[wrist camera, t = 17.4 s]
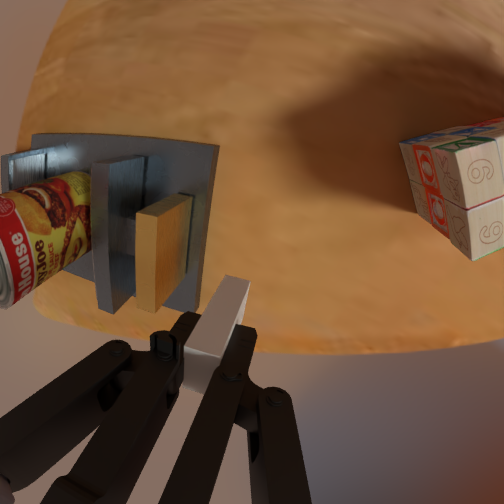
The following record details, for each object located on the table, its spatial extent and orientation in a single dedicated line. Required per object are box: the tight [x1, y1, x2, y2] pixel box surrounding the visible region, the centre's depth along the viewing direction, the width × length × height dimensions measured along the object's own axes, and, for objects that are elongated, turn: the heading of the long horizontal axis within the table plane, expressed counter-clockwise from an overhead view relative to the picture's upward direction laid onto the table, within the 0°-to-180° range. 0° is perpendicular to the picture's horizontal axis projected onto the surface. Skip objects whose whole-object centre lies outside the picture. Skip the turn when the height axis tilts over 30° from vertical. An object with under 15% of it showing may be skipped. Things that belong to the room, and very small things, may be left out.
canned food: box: [0, 171, 92, 309], centre depth 18 cm, size 8×8×12 cm
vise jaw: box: [90, 155, 193, 315], centre depth 20 cm, size 6×12×6 cm, turn 170°
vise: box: [1, 133, 220, 313], centre depth 22 cm, size 22×15×6 cm
